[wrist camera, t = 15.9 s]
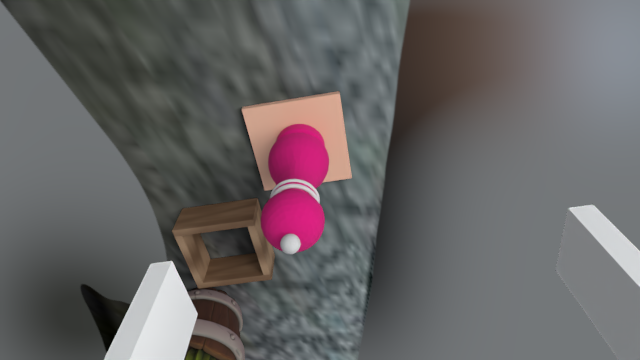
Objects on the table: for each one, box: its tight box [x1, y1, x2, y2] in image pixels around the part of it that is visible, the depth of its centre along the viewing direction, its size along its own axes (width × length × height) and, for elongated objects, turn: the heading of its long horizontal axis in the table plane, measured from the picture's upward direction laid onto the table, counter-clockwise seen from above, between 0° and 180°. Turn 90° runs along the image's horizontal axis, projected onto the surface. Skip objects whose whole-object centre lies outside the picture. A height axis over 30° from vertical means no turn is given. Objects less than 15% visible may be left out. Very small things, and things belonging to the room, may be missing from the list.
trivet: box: [242, 91, 352, 191], centre depth 52 cm, size 12×12×1 cm
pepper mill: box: [261, 124, 329, 254], centre depth 43 cm, size 7×7×20 cm
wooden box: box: [172, 198, 275, 289], centre depth 58 cm, size 11×11×5 cm
